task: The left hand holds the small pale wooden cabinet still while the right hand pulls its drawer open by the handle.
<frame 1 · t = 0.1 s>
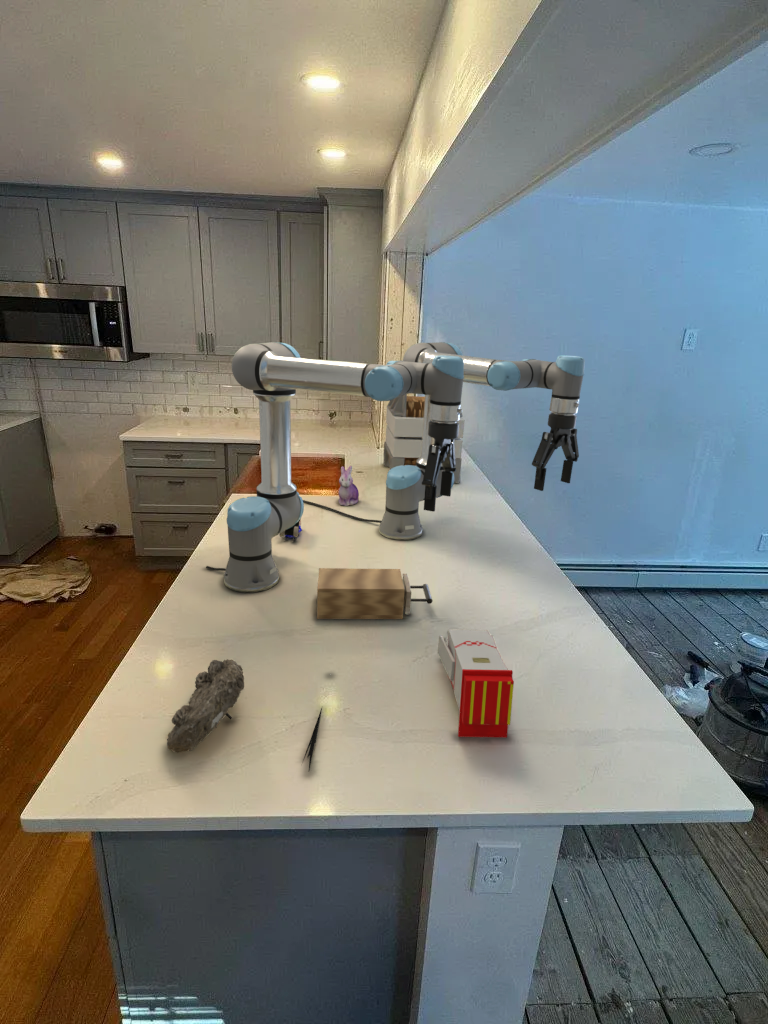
left hand: (437, 502, 147), 28 cm above the counter, tool pointing down, fingers open, 13 cm apart
right hand: (552, 485, 166), 28 cm above the counter, tool pointing down, fingers open, 13 cm apart
toy: (469, 691, 119), on the counter
feather: (319, 719, 109), on the counter
cabinet: (359, 607, 150), on the counter
figurine character: (292, 535, 194), on the counter
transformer: (419, 473, 275), on the counter
figurine: (348, 502, 229), on the counter
fossil: (212, 717, 108), on the counter
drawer: (380, 593, 149), point 4 cm above the counter, slide at 0.7 cm
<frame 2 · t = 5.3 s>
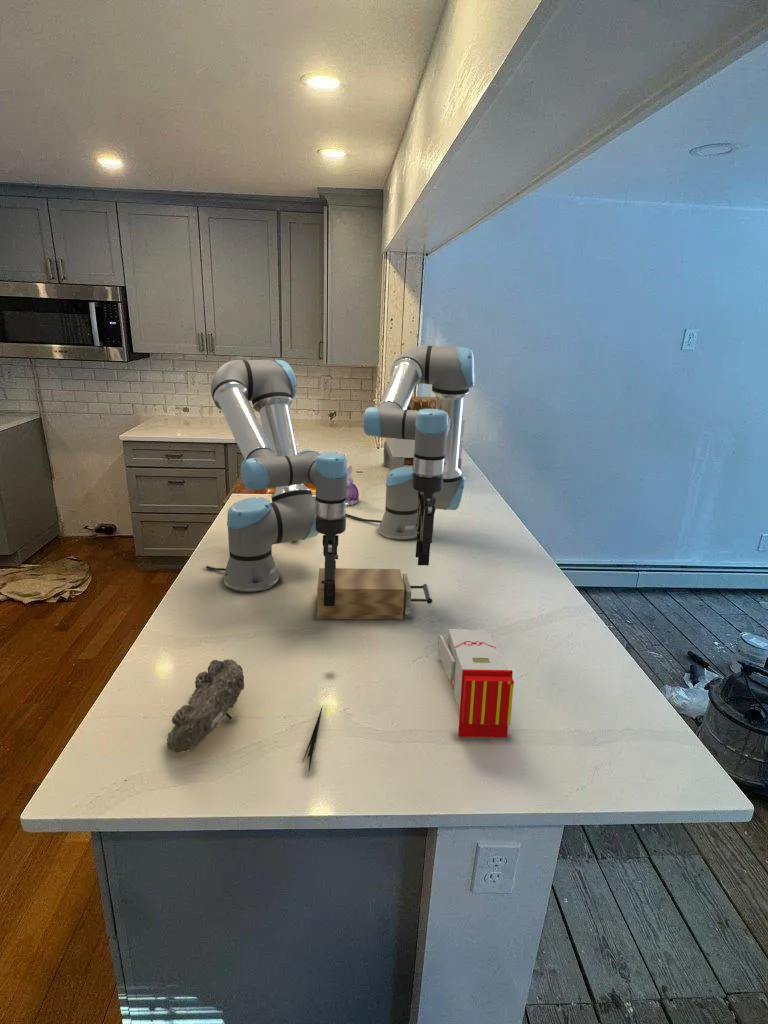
left hand: (329, 593, 148), 4 cm above the counter, tool pointing down, fingers closed on cabinet, 12 cm apart
right hand: (421, 560, 146), 14 cm above the counter, tool pointing down, fingers open, 4 cm apart
cabinet: (359, 607, 150), on the counter, touching left hand
everything else where it was.
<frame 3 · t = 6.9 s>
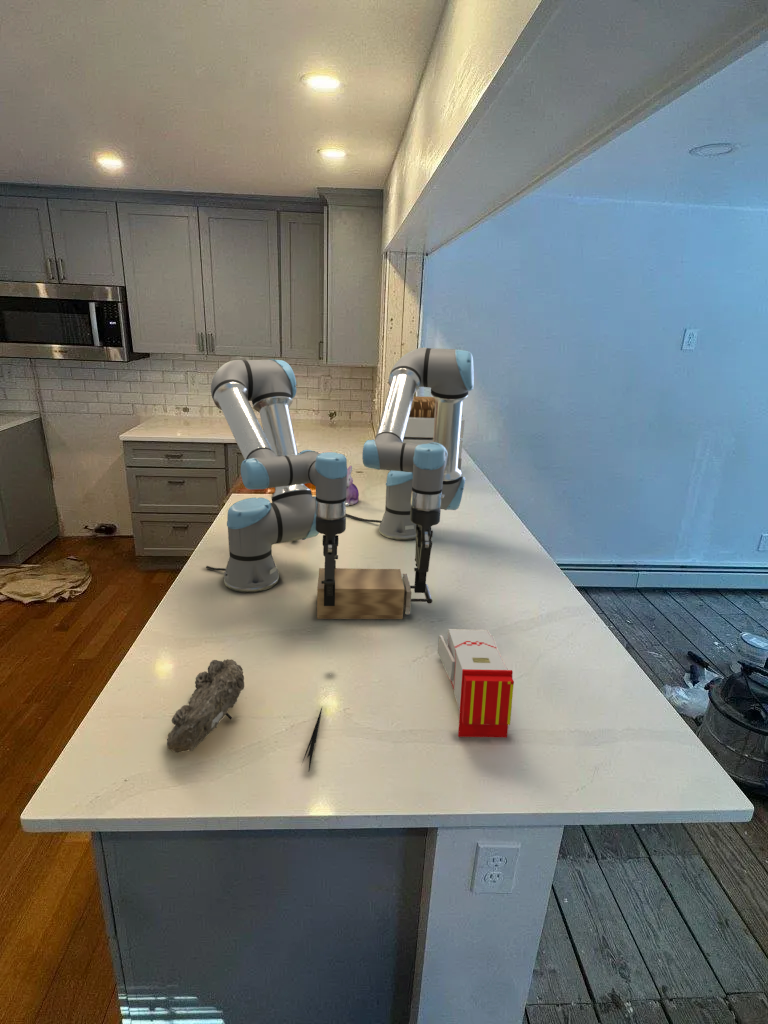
left hand: (329, 593, 148), 4 cm above the counter, tool pointing down, fingers closed on cabinet, 12 cm apart
right hand: (419, 591, 149), 5 cm above the counter, tool pointing down, fingers closed
cabinet: (359, 607, 150), on the counter, touching left hand
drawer: (380, 593, 149), point 4 cm above the counter, slide at 0.7 cm, touching right hand
everything else where it was.
when the left hand's fingers open (4 cm above the counter, at t = 10.5 s): cabinet stays where it is, on the counter.
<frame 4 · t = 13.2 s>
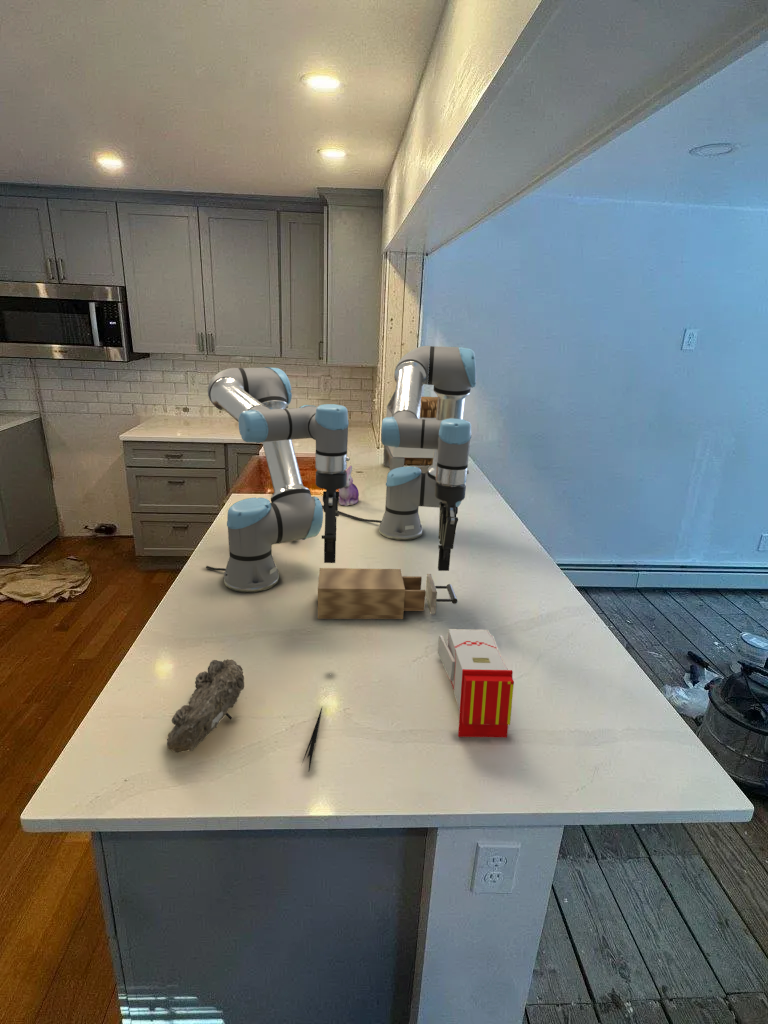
left hand: (330, 551, 144), 16 cm above the counter, tool pointing down, fingers open, 13 cm apart
right hand: (443, 569, 148), 11 cm above the counter, tool pointing down, fingers closed
cabinet: (360, 607, 150), on the counter
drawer: (405, 593, 149), point 4 cm above the counter, slide at 7.1 cm
everything else where it was.
at the end: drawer slide at 7.1 cm; cabinet tilted 0°; cabinet never tilted more than 1° during the clip; cabinet moved 0.1 cm from its start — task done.
